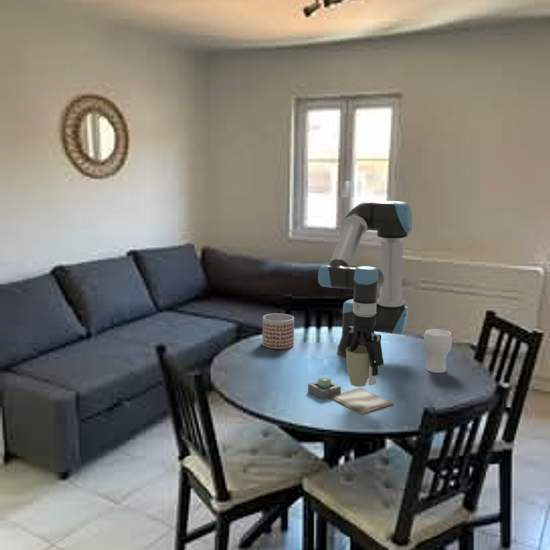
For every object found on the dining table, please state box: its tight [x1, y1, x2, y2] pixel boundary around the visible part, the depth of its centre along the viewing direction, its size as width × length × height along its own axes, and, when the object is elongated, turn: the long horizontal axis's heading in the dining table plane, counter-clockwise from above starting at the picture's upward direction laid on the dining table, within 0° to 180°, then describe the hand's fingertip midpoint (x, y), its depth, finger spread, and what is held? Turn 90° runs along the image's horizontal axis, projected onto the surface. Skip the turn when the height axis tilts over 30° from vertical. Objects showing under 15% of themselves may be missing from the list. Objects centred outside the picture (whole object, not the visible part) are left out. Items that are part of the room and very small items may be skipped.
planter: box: [262, 313, 295, 351], centre depth 249 cm, size 14×14×13 cm
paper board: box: [328, 387, 394, 415], centre depth 190 cm, size 16×14×1 cm
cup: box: [422, 328, 453, 374], centre depth 220 cm, size 11×11×15 cm
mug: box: [345, 346, 385, 388], centre depth 188 cm, size 11×10×12 cm
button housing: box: [307, 380, 342, 401], centre depth 196 cm, size 8×8×3 cm
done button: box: [317, 376, 332, 389], centre depth 196 cm, size 4×4×3 cm
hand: (361, 379), depth 189 cm, fingers closed on mug, 9 cm apart
